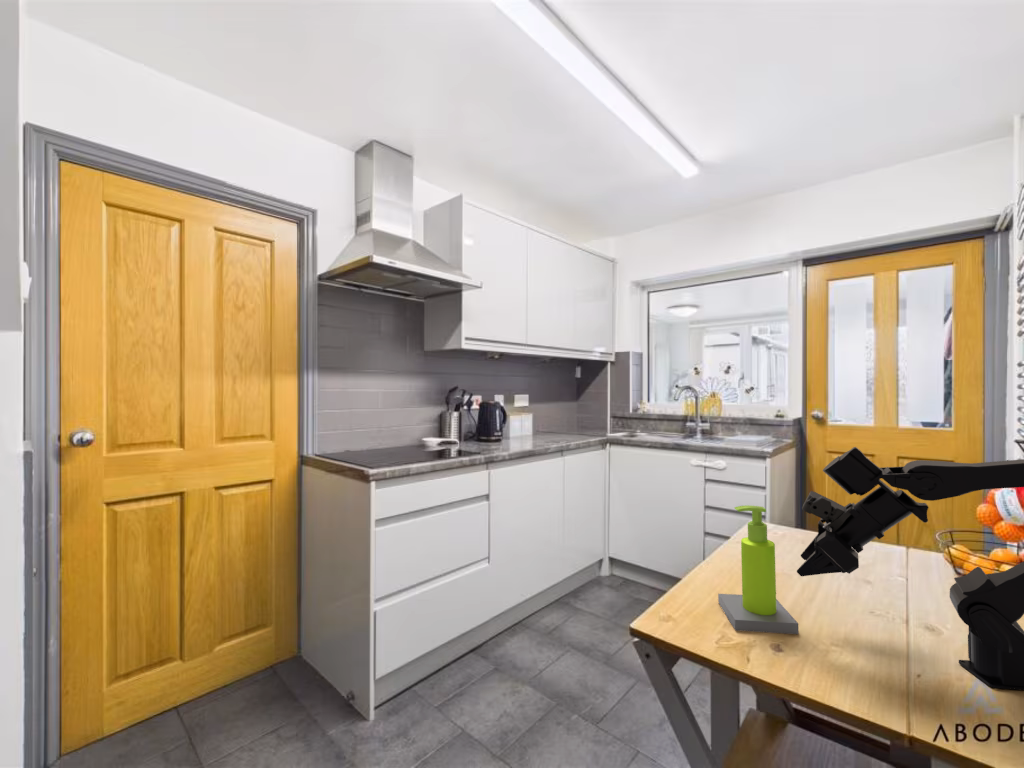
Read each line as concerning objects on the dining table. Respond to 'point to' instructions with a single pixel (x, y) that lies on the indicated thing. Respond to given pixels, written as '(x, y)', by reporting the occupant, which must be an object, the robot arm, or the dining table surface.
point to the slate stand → (756, 617)
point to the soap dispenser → (758, 565)
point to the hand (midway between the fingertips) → (800, 565)
